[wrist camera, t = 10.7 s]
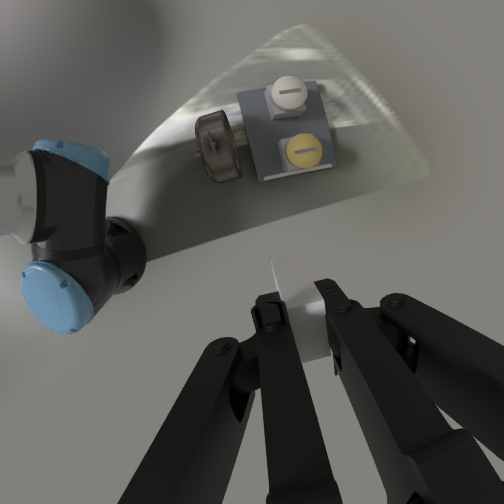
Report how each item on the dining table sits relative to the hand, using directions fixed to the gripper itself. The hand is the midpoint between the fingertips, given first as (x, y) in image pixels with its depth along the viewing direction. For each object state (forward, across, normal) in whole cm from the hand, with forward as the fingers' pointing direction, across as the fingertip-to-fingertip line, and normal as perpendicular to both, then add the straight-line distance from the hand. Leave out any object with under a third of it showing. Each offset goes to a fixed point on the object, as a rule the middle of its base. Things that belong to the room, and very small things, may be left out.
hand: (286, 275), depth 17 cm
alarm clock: (+35, -4, +11) cm, 37 cm away
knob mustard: (+32, +8, +7) cm, 34 cm away
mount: (+34, +8, +12) cm, 37 cm away
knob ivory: (+32, +8, +17) cm, 37 cm away
